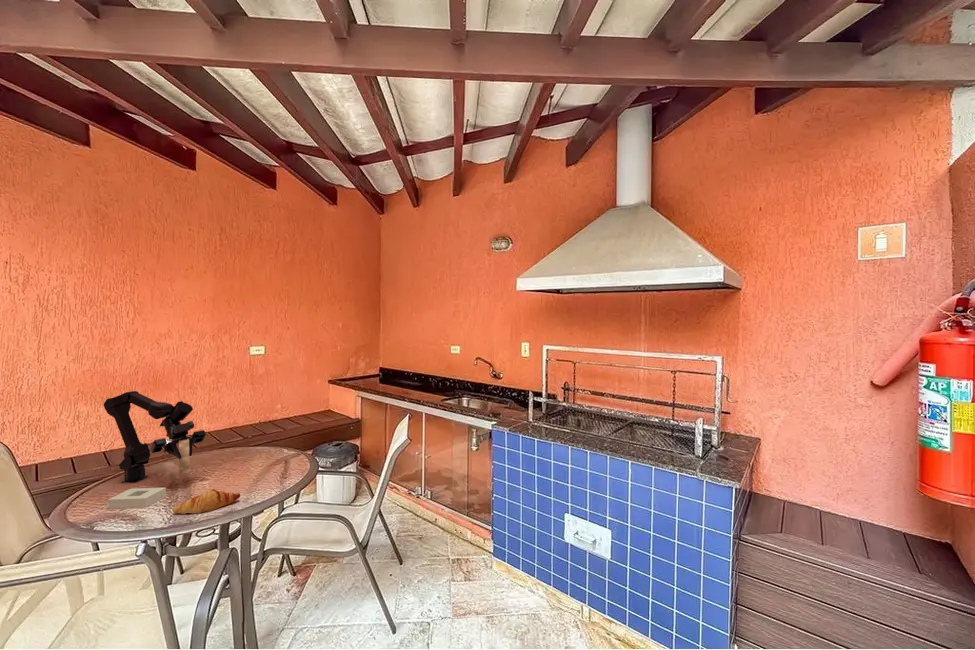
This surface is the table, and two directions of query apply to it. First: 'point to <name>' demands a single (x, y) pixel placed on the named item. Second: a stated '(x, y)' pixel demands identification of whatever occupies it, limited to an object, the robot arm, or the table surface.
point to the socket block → (137, 498)
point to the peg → (184, 457)
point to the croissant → (206, 502)
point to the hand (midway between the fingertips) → (185, 456)
